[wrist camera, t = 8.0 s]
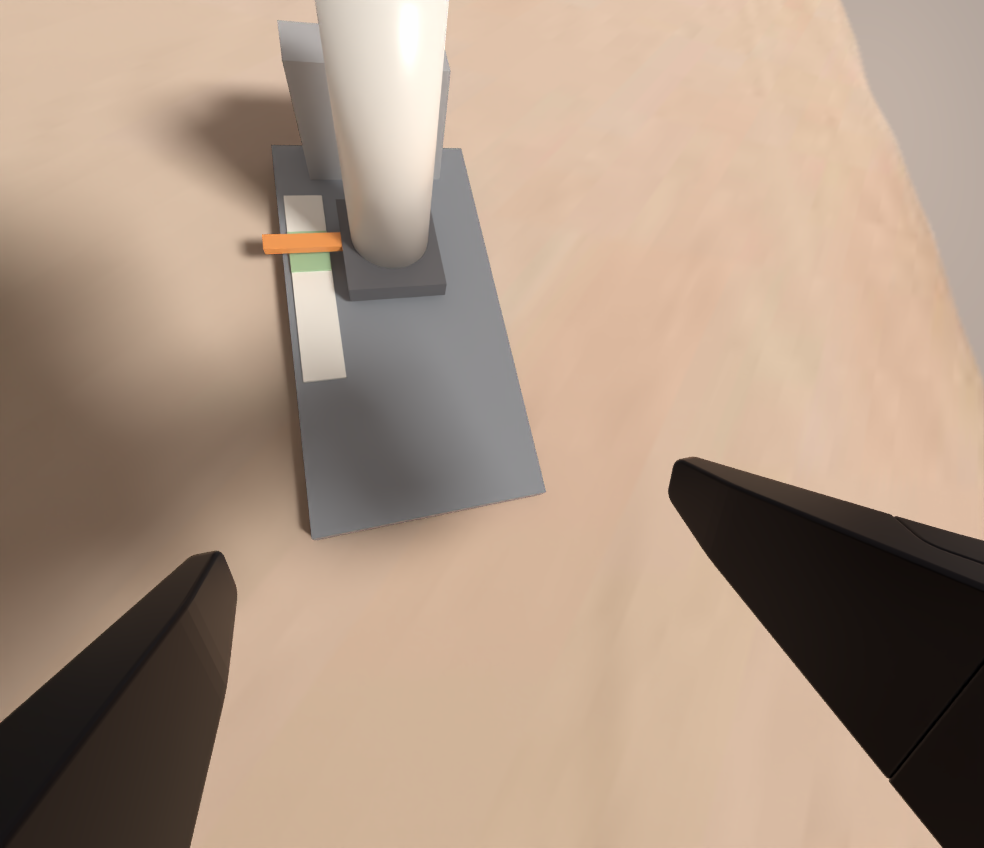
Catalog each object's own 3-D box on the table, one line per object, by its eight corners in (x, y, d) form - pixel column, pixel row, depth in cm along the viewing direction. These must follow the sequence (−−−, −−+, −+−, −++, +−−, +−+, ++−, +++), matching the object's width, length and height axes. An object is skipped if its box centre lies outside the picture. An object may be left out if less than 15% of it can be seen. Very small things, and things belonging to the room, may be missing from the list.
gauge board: (540, 494, 18) (599, 467, 13) (315, 540, 16) (272, 530, 10) (459, 162, 23) (477, 37, 17) (275, 160, 20) (230, 15, 15)
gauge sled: (444, 294, 19) (487, 45, 10) (273, 306, 17) (125, 15, 8) (427, 211, 20) (450, -83, 11) (264, 214, 18) (127, -134, 9)
